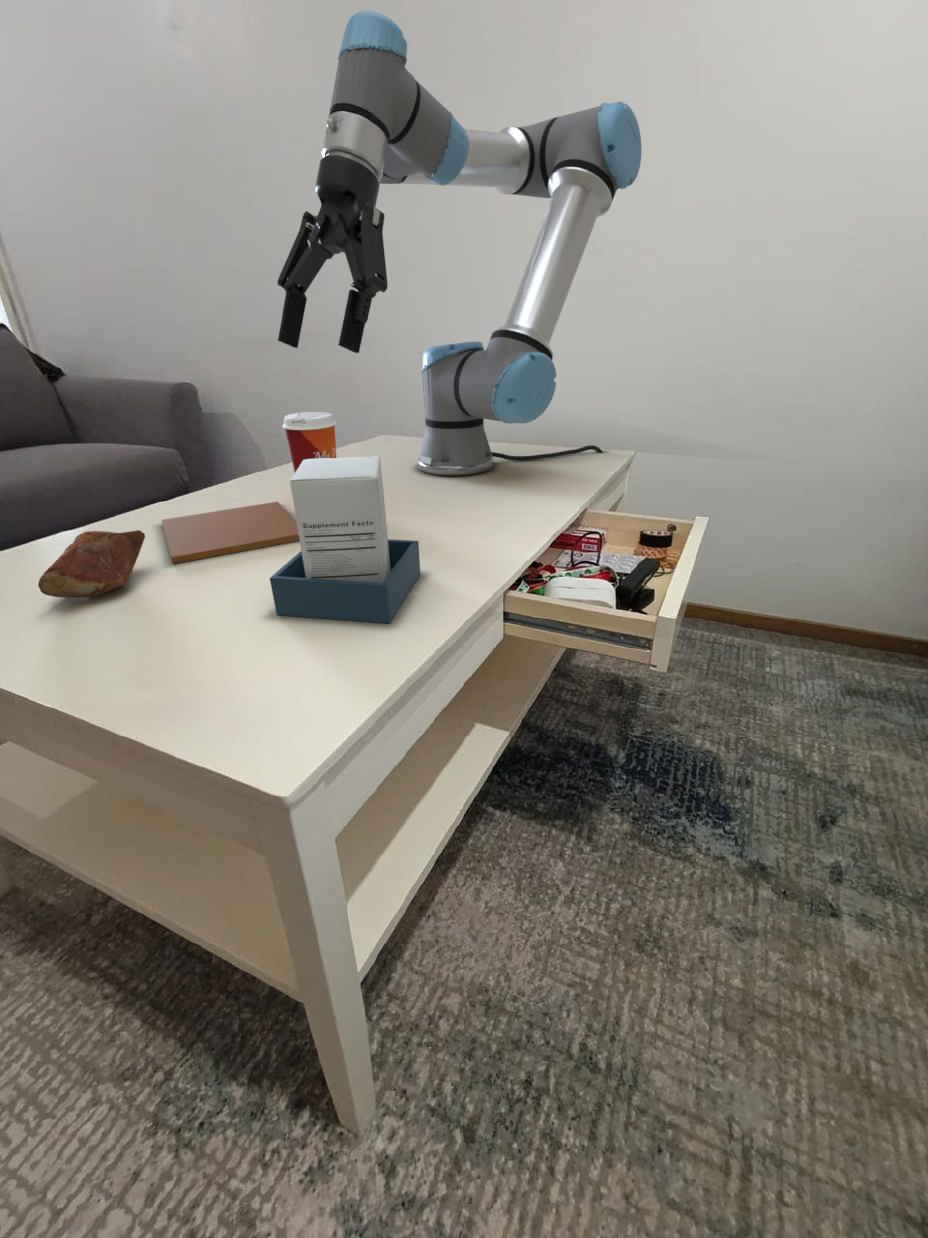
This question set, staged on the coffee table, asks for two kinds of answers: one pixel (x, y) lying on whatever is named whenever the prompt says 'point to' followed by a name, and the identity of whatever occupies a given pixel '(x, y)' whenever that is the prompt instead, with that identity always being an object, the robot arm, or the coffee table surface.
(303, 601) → the crate
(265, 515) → the cork mat
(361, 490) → the white product box
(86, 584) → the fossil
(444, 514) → the coffee table surface
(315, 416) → the coffee cup
